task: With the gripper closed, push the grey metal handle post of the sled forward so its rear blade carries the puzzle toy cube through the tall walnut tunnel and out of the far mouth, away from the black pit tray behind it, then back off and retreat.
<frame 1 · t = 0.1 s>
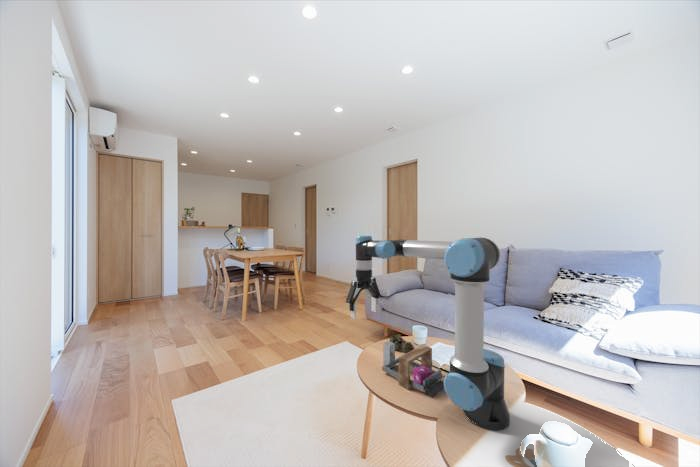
hand: (364, 314, 125), 28 cm above the table, fingers open, 13 cm apart
puzzle toy: (422, 383, 119), on the table
rock: (401, 349, 152), on the table
sled: (407, 362, 124), point 6 cm above the table, slide at 0.0 cm
pit tray: (436, 389, 114), on the table
tunnel: (415, 379, 121), on the table
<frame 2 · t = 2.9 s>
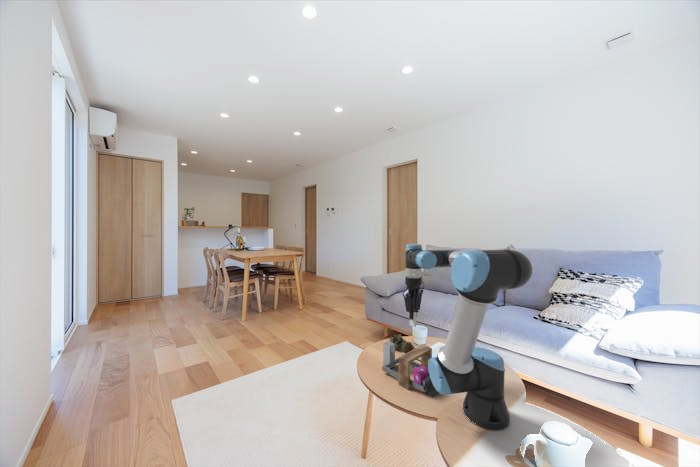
hand: (412, 325, 128), 22 cm above the table, fingers closed
nothing on the table moved.
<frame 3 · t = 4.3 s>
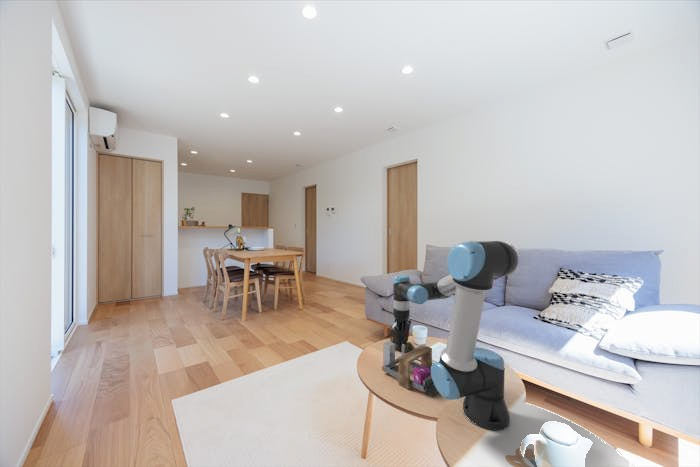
hand: (401, 357, 127), 7 cm above the table, fingers closed
nothing on the table moved.
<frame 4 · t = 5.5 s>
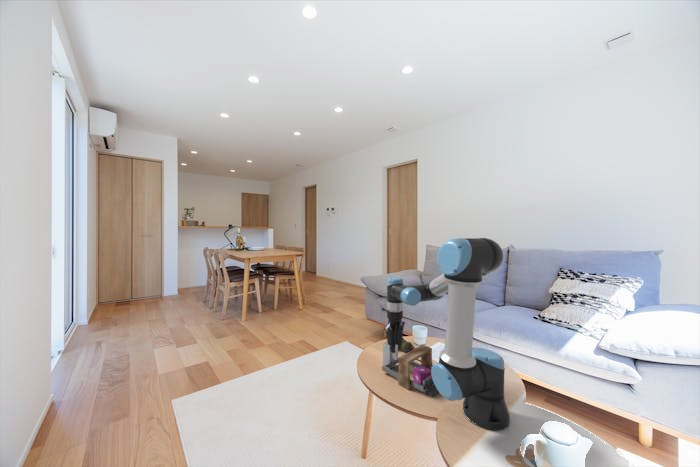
hand: (394, 358, 130), 5 cm above the table, fingers closed
sled: (407, 362, 124), point 6 cm above the table, slide at 0.1 cm, touching gripper
everything else where it was.
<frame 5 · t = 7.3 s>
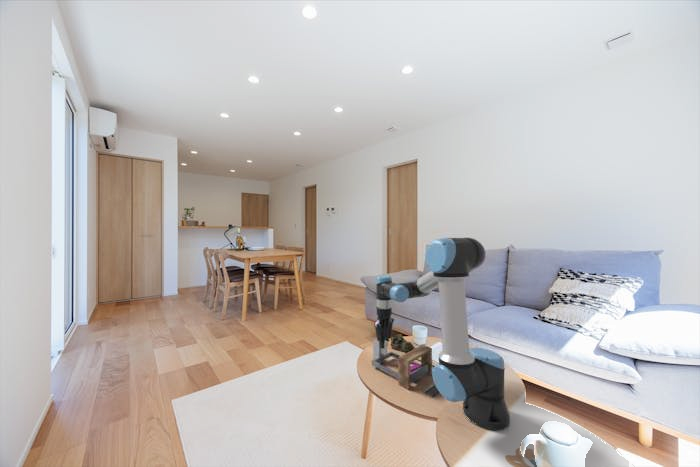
hand: (384, 353, 135), 5 cm above the table, fingers closed
puzzle toy: (411, 378, 123), on the table
sled: (396, 357, 129), point 6 cm above the table, slide at 6.8 cm, touching gripper
everything else where it was.
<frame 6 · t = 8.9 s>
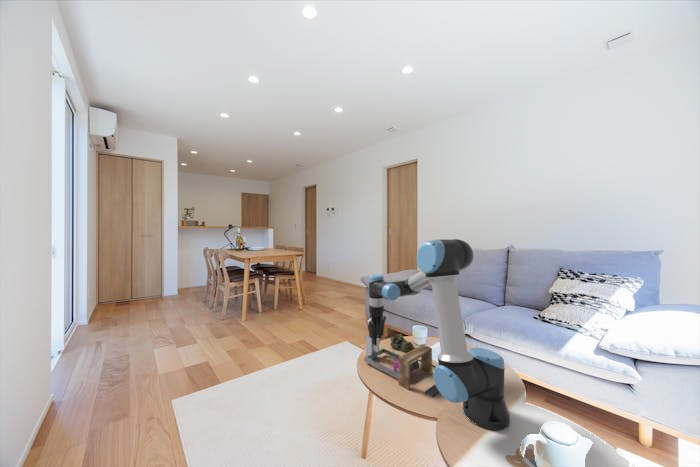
hand: (376, 350, 139), 5 cm above the table, fingers closed
puzzle toy: (402, 374, 126), on the table, touching sled
sled: (387, 353, 133), point 6 cm above the table, slide at 12.0 cm, touching gripper, puzzle toy
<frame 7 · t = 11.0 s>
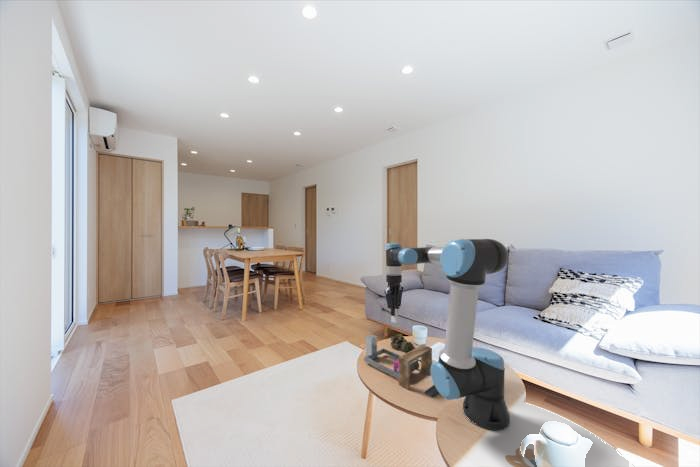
hand: (394, 321, 133), 22 cm above the table, fingers closed
puzzle toy: (402, 374, 126), on the table
sled: (387, 354, 133), point 6 cm above the table, slide at 12.0 cm
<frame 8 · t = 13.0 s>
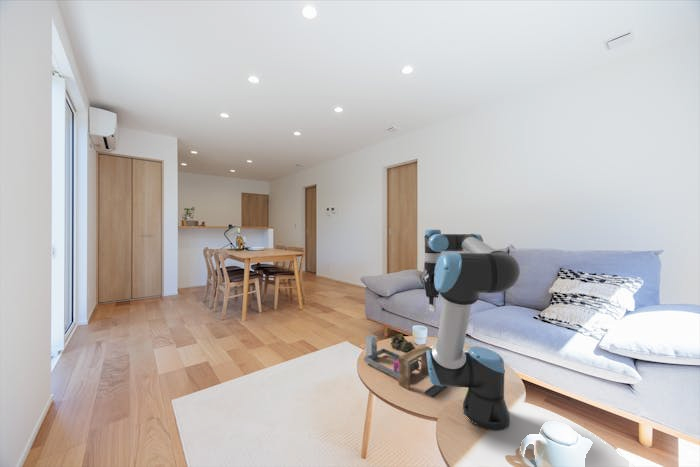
hand: (432, 310, 129), 28 cm above the table, fingers closed
at the end: sled slide at 12.0 cm; puzzle toy inside the target area (3.1 cm from its centre), on the table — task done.
